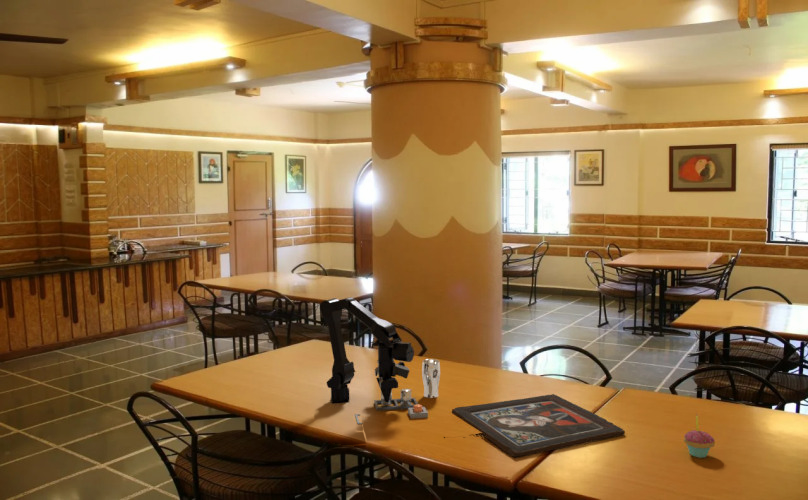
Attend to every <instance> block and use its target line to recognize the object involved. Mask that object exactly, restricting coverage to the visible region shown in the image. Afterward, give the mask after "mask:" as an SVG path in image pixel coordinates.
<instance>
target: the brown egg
mask: <svg viewBox="0 0 808 500" xmlns="http://www.w3.org/2000/svg"><path fill="white" fill-rule="evenodd" d="M413 405H414V412H422V407H423V405H422V404H419V403H418V404H417V405H415V404H413Z"/></svg>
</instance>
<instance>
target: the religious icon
mask: <svg viewBox="0 0 808 500" xmlns="http://www.w3.org/2000/svg"><path fill="white" fill-rule="evenodd" d="M451 413H452V414H454V415H455V416H456V417H458V418H460V419H461V420H463V421H464V422H466V423H467V424H469V425H470V426H472V427H473V428H475V429H476V430H478V431H479V433H477V434H476V435H475V436H476V437H479V436H480V437H483V436H484V438H486V439H487V440H489V441H490V442H491V443H493V444H494V445H496V446H497V447H498V448H500V449H501V450H502V451H504V452H505V453H507V454H508V455H510V456H511V457H513V458H519V457H526V456H529V455H530V456H531V455H534V454H535V455H537V454H540V453H545V452H549V451H554V450H559V449H563V448H565V449H566V448H570V447H573V446H574V447H575V446H579V445H583V444H589V443H591V442H596V441H597V442H598V441H602V440H607V439H612V438H617V437H621V436H624V435H625V434H626V431H625V430H624V428H621V427H620V426H618V425H616V424H614V423H613V422H612V421H611V422H610V421H608V420H607V419H605V418H603V417H601V416H599V414H595V413H593V412H592V411H590V410H587V409H585V408H583V407H581V406H579V405H577V404H575V403H572V402H571V401H569V400H567V399H565V398H562V397H560V396H558V395H557V394H554V393H552V394H545V395H538V396H533V397H532V396H531V397H526V398H519V399H512V400H511V399H510V400H505V401H497V402H496V401H495V402H489V403H482V404H475V405H466V406H458V407H457V406H456V407H455V408H452V409H451Z"/></svg>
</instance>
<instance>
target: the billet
mask: <svg viewBox="0 0 808 500" xmlns="http://www.w3.org/2000/svg"><path fill="white" fill-rule="evenodd" d="M392 399H393V389H392V390H391V394H390V398H389V402H385V399H384V397H383V394H382V391H381V390H380V400H381V404H380V405H381V406H392V404H393V403H392Z"/></svg>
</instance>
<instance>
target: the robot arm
mask: <svg viewBox="0 0 808 500" xmlns="http://www.w3.org/2000/svg"><path fill="white" fill-rule="evenodd" d="M343 310H346V311H348V312H349V313H350V314H351V315H352V316H354V317H355V318H356V319H358V321H360V322H362V323H363V324H364V325H365V326H366V327H368V328H369V330H370V332H371V334H372V335H373V337H375V339H376V340H375V342H372V347H373V346H374V347H377V361H376V363H377V367H375V368H374V376H375V377H376V381H377V383H378V384H377V385H378V387H379V389H380V392H381V391H382V394H383V397H384V399H385V402H389V398H390V394H391V390H392V391H393V389H398V388H399V380H397V379H396V377H397V376H398V377H401V378H404V379H407V378H408V376H409V374H410V368H409V367H408V366H406V364H405V362H406V363H411V362H412V361H413V359H414V356H415V350H414V347H413V346H412V342H404V341H403V340H402V337H400V335H399V334H398V332H397V328H396V326H395V325H394V324H392V322H390V321H387V320H385V319H382V318H379V317H378V316H376V315H375V314H373V313H372V312H371V311H370V310H369V309H367V308H366V307H364V306H363V305H362V304H361V303H360V302H358V301H357V299H356V298H354V297H352V296H351V297H346V298H343V299H338V298H336V297H335V298H329V299H326V300H323V301H321V303H320V305H319V311H320V314H321V318H322V319H323V320H324V322H325V323H326V325H327V329H328V335H329V340H330V347H331V351H332V356H333V363H332V364H333V365H332V367H331V377H330V378H329V379H328V380H327V381H326V386H327V388H328V389H330V404H346V403H347V404H348V403H349V400H350V387H348V385H349V384H351V382H352V380H353V378H355V373H356V370H355V367H354V365H355V364H354V361H350V360H349V358H348V356H347V353H346V352H347V351H346V346H345V341H344V340H345V339H344V336H343V335H344V334H343V330H342V324H341V319H342V316H343ZM395 361H399V362H398V363H396V362H395Z"/></svg>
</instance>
